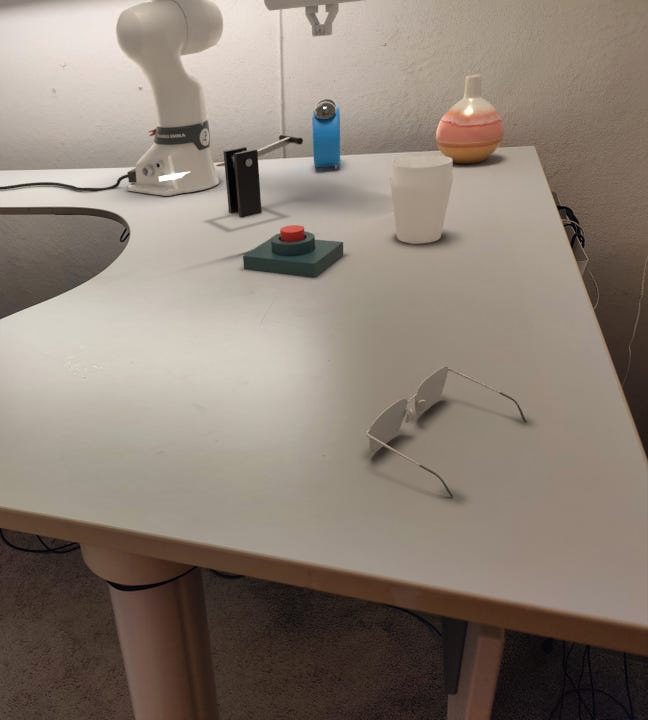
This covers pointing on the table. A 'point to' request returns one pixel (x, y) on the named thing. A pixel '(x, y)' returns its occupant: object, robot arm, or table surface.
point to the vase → (470, 126)
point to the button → (292, 233)
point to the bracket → (243, 182)
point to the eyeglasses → (424, 399)
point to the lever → (275, 145)
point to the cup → (421, 196)
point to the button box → (294, 256)
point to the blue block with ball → (326, 134)
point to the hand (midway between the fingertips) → (322, 35)
